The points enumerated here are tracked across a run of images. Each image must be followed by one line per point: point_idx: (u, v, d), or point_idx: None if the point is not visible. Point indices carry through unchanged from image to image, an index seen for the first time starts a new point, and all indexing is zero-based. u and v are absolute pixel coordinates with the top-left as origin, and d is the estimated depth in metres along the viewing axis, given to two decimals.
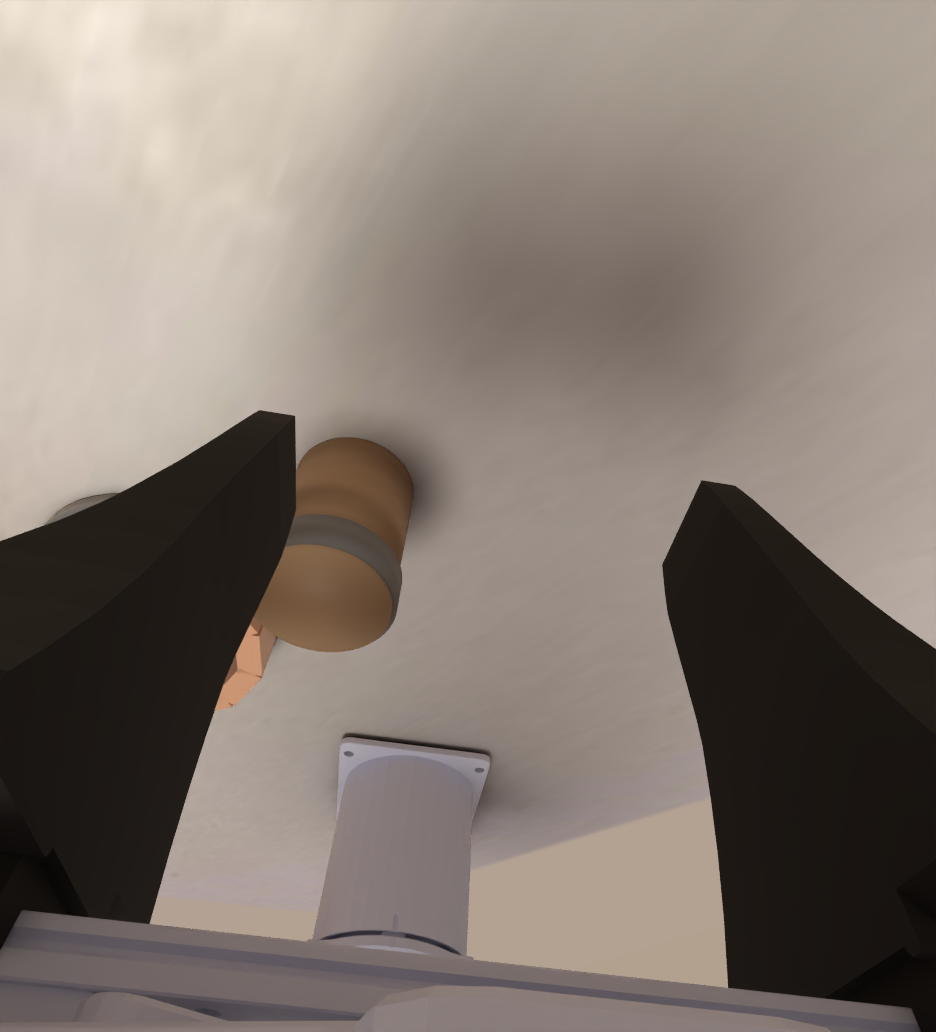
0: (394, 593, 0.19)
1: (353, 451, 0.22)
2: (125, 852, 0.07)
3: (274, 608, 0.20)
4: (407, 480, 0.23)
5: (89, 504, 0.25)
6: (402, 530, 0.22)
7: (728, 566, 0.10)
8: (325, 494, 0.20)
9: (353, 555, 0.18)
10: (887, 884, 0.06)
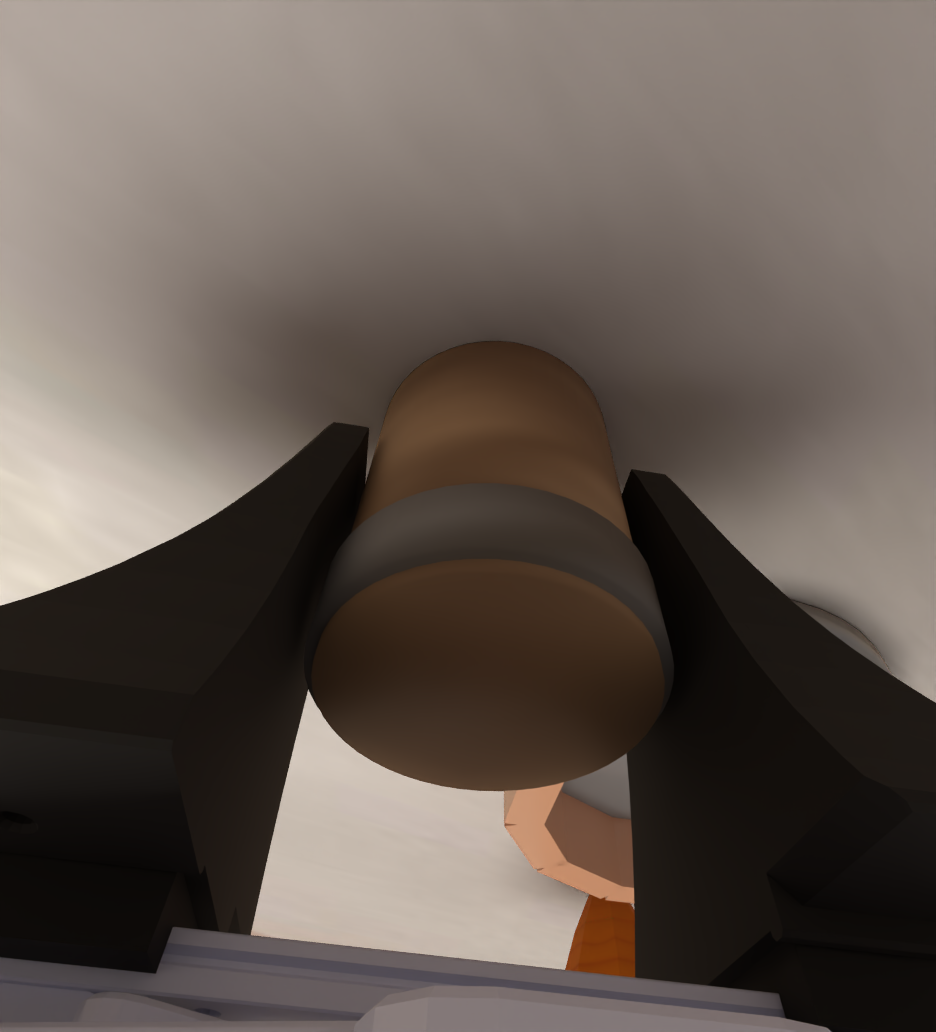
0: (458, 550, 0.07)
1: None
2: (242, 866, 0.07)
3: (502, 761, 0.09)
4: (455, 356, 0.11)
5: None
6: (470, 422, 0.09)
7: (649, 554, 0.10)
8: None
9: (333, 615, 0.08)
10: (760, 869, 0.06)
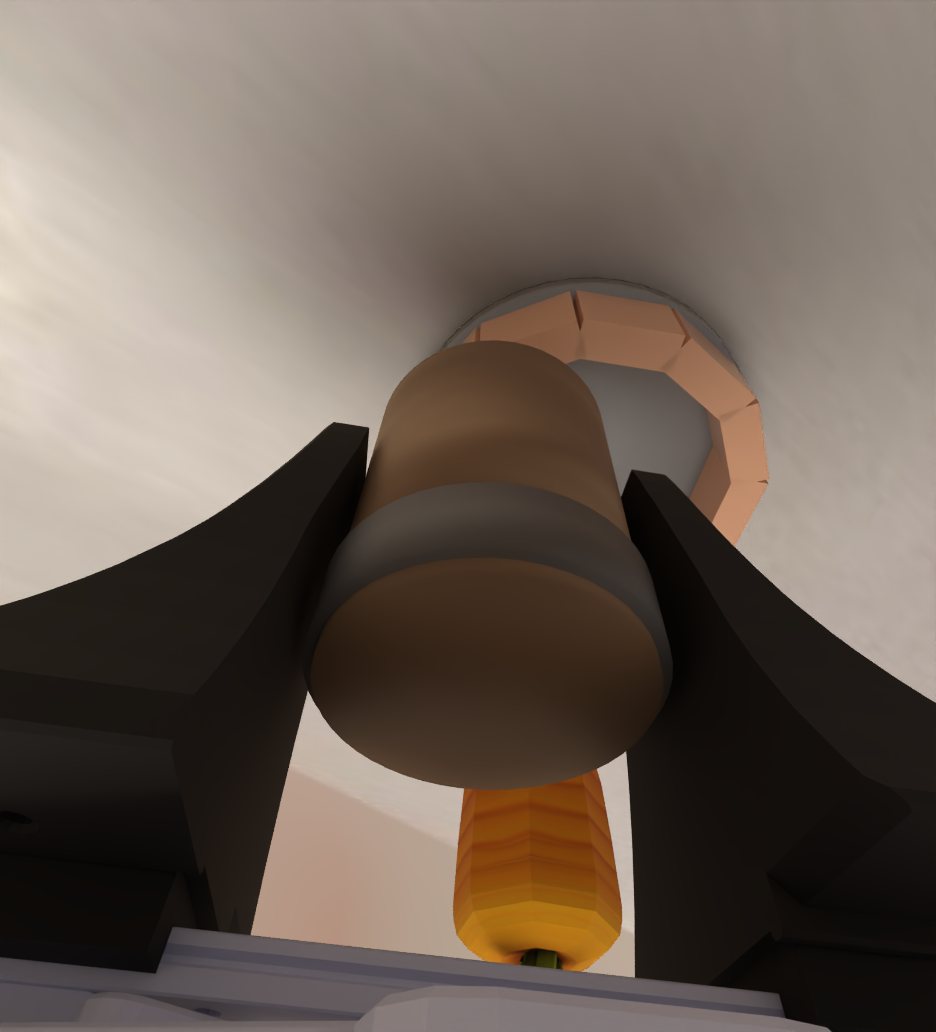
0: (456, 549, 0.07)
1: None
2: (242, 866, 0.07)
3: (501, 760, 0.09)
4: (453, 356, 0.11)
5: None
6: (468, 421, 0.09)
7: (650, 554, 0.10)
8: None
9: (330, 614, 0.08)
10: (760, 869, 0.06)
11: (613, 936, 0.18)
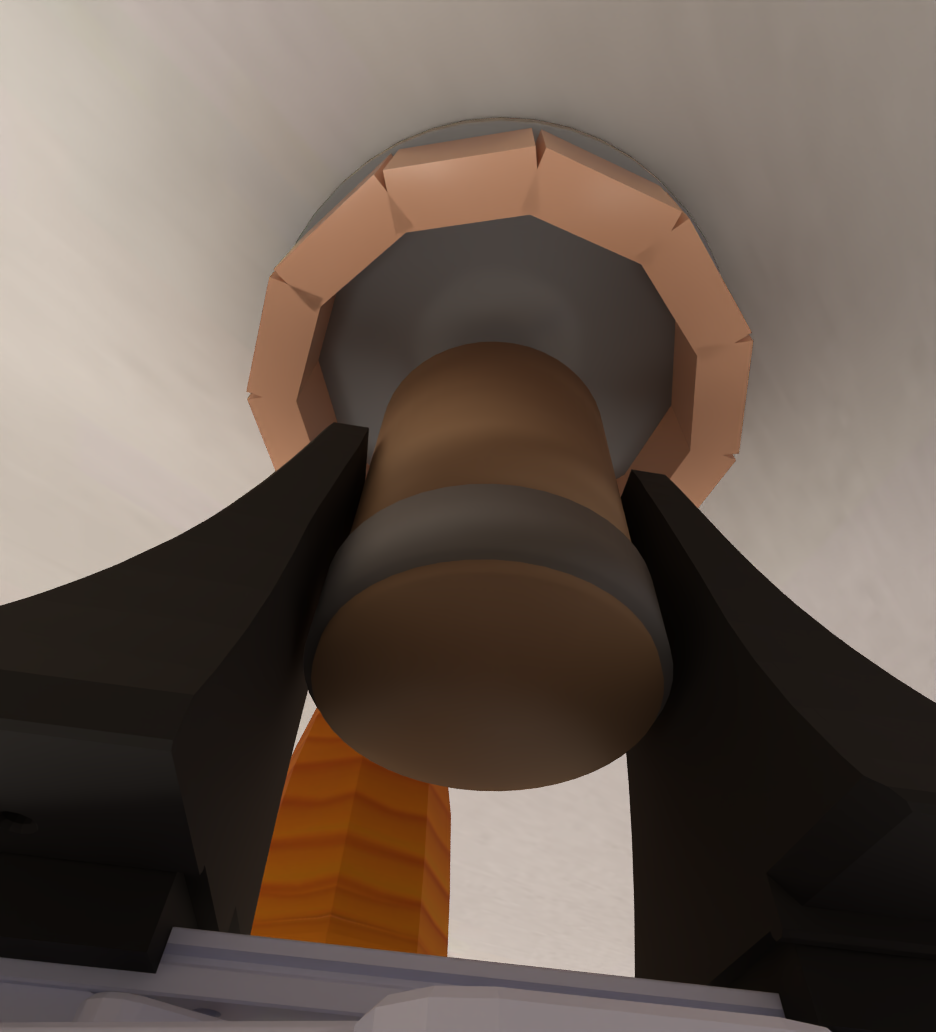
0: (457, 551, 0.07)
1: None
2: (242, 866, 0.07)
3: (502, 761, 0.09)
4: (452, 357, 0.11)
5: None
6: (468, 422, 0.09)
7: (649, 554, 0.10)
8: None
9: (331, 615, 0.08)
10: (759, 869, 0.06)
11: None
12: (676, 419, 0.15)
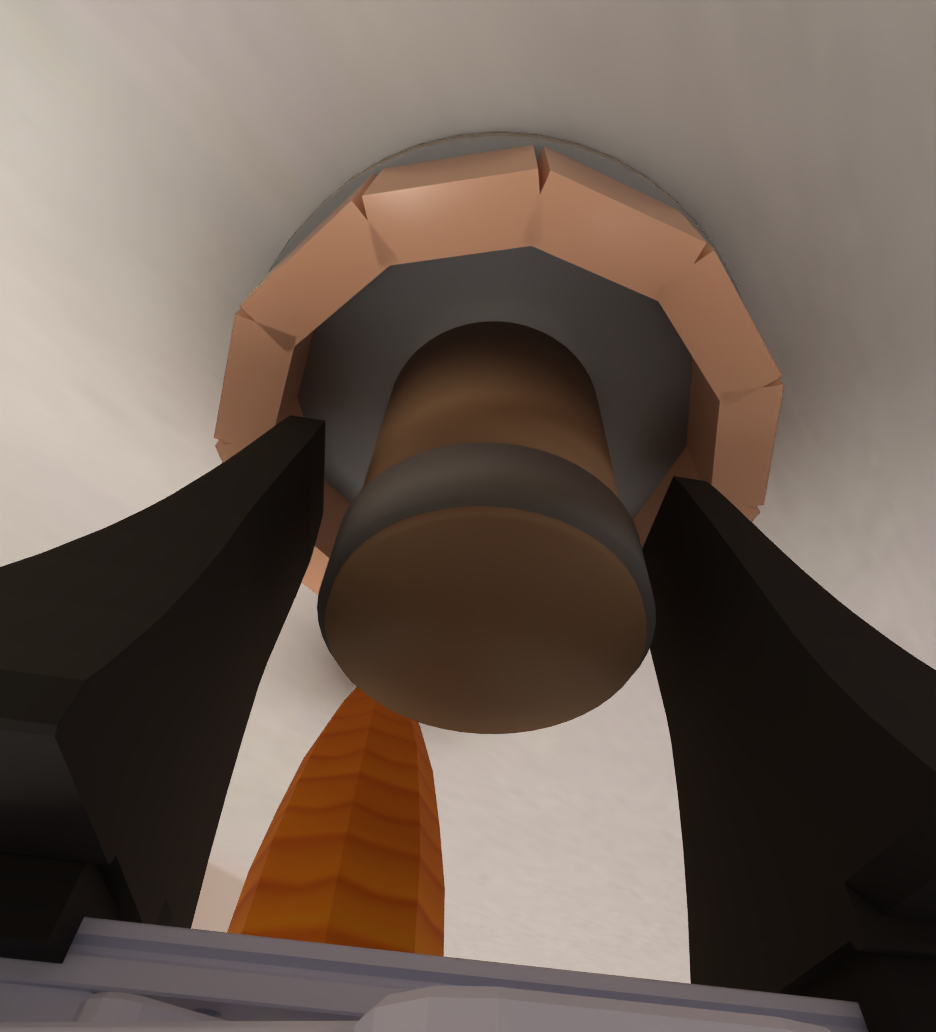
0: (458, 498, 0.08)
1: None
2: (173, 858, 0.07)
3: (499, 703, 0.10)
4: (456, 335, 0.12)
5: None
6: (469, 392, 0.10)
7: (696, 562, 0.10)
8: None
9: (343, 561, 0.08)
10: (836, 878, 0.06)
11: None
12: (692, 463, 0.13)
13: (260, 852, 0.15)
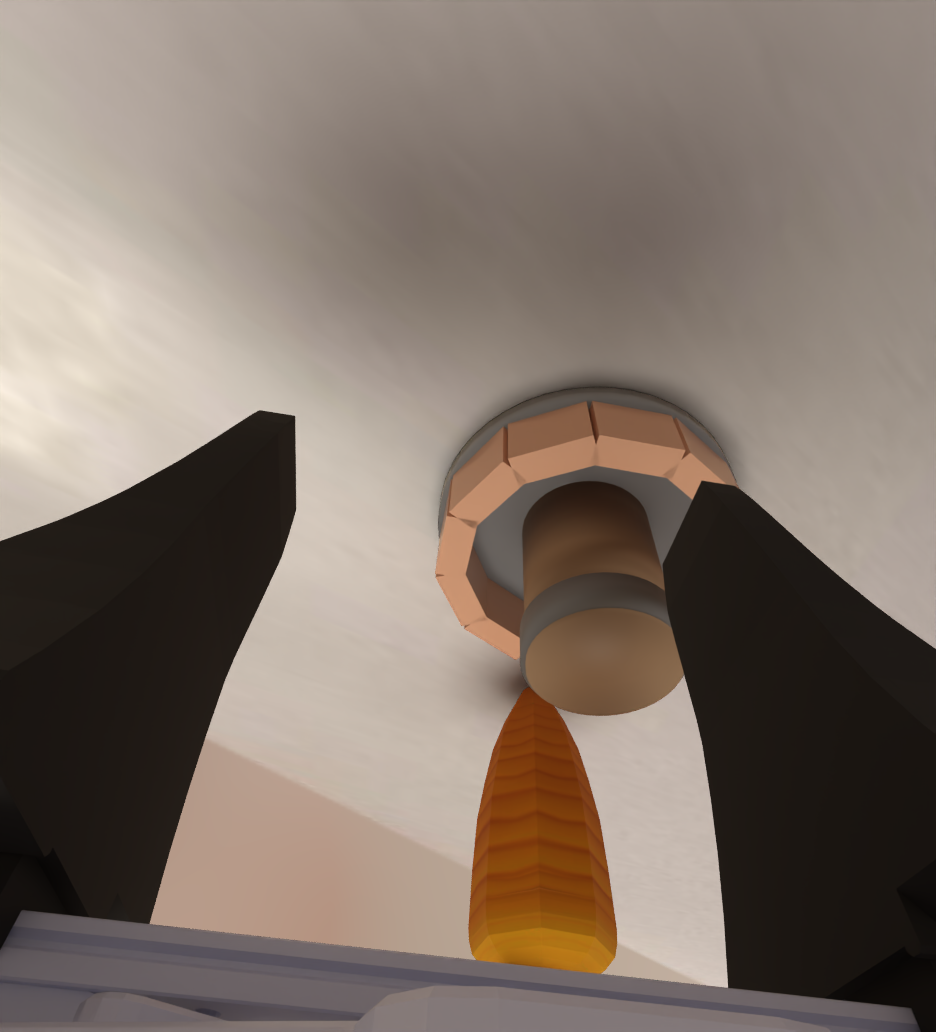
0: (583, 607, 0.17)
1: None
2: (125, 852, 0.07)
3: (617, 698, 0.19)
4: (558, 495, 0.21)
5: None
6: (574, 538, 0.19)
7: (728, 566, 0.10)
8: None
9: (532, 639, 0.18)
10: (887, 884, 0.06)
11: (609, 958, 0.21)
12: None
13: (483, 807, 0.25)
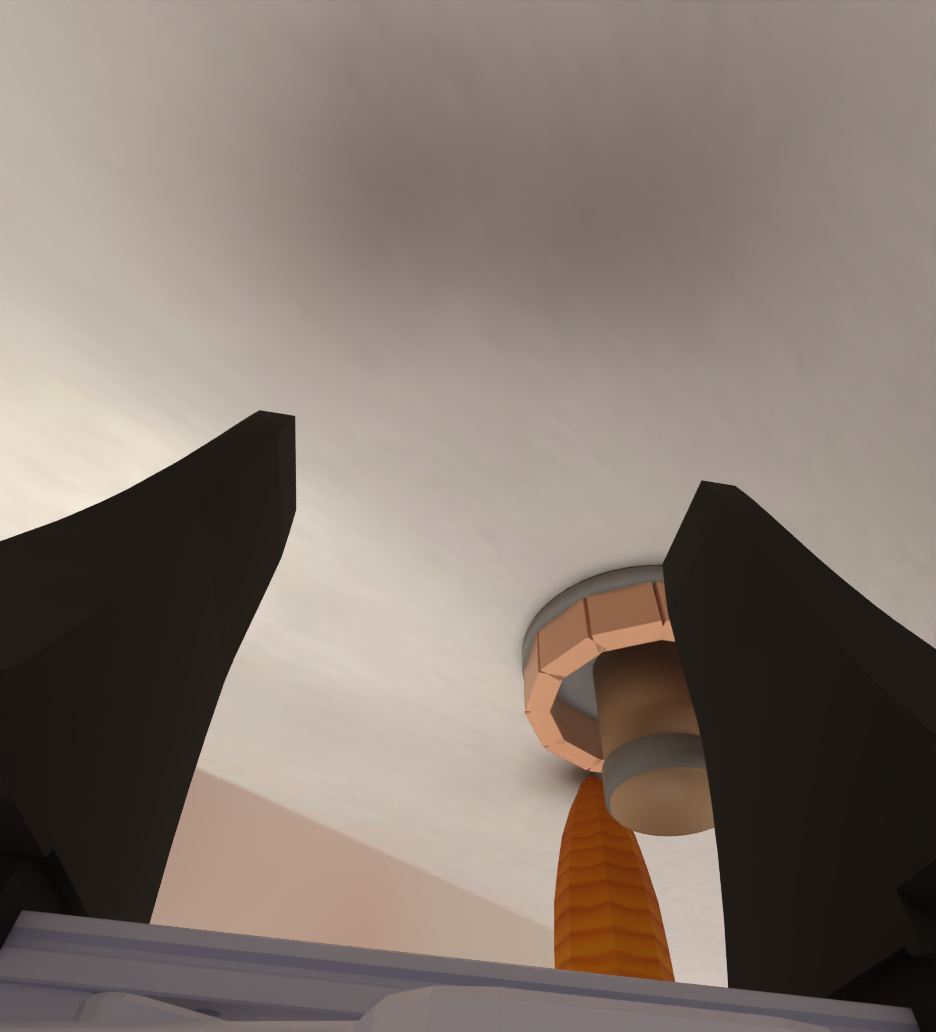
0: (660, 766, 0.22)
1: (594, 685, 0.27)
2: (125, 852, 0.07)
3: (682, 825, 0.24)
4: (625, 647, 0.26)
5: None
6: (645, 694, 0.24)
7: (728, 567, 0.10)
8: (602, 746, 0.25)
9: (617, 786, 0.23)
10: (887, 884, 0.06)
11: None
12: None
13: (559, 892, 0.29)
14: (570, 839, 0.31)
